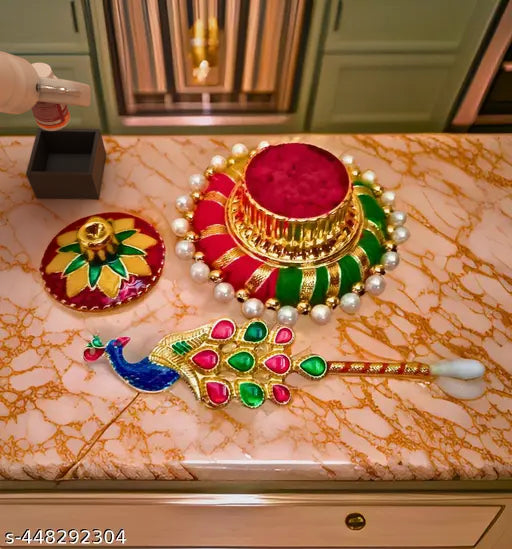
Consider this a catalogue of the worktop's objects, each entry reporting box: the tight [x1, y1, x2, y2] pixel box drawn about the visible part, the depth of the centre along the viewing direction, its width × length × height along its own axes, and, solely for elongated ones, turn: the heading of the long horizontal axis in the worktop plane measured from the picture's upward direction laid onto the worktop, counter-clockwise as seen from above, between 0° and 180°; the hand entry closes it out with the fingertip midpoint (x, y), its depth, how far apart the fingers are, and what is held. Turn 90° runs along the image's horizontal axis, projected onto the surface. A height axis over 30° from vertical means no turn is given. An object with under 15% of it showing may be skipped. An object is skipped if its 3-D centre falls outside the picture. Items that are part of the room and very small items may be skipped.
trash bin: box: [25, 127, 107, 200], centre depth 118 cm, size 13×13×7 cm
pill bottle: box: [30, 62, 71, 131], centre depth 103 cm, size 6×6×11 cm
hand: (46, 92), depth 103 cm, fingers closed on pill bottle, 6 cm apart
